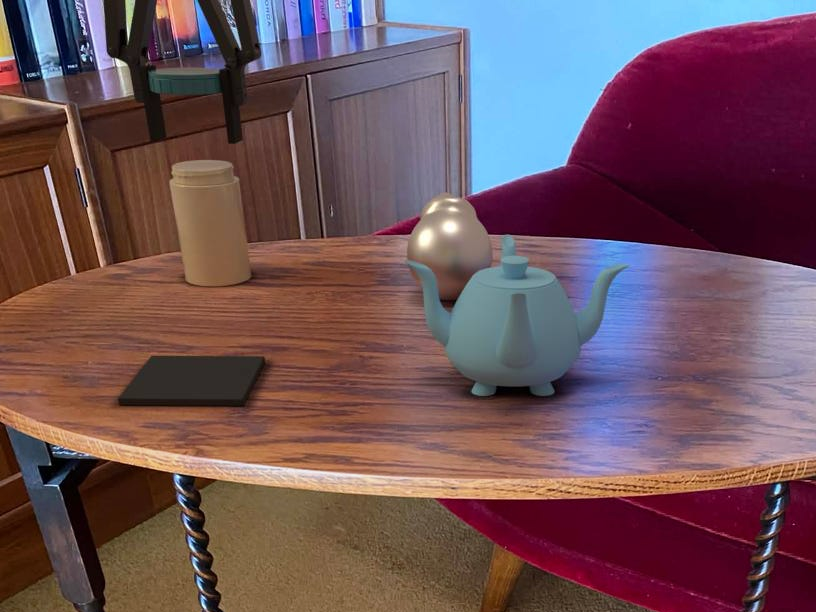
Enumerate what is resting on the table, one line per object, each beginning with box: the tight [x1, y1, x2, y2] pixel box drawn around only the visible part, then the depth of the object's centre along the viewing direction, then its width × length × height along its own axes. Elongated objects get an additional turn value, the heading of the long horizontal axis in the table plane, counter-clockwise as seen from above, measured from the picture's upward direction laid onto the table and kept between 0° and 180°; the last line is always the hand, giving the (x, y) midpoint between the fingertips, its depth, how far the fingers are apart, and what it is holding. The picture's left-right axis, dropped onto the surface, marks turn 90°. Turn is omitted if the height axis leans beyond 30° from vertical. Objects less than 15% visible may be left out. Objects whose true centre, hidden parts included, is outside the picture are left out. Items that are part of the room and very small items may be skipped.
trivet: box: [117, 355, 266, 407], centre depth 81 cm, size 10×10×1 cm
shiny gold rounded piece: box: [406, 192, 494, 301], centre depth 99 cm, size 9×10×10 cm
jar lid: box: [148, 67, 222, 96], centre depth 96 cm, size 8×8×2 cm
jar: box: [168, 159, 252, 287], centre depth 104 cm, size 7×7×11 cm
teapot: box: [404, 234, 630, 397], centre depth 80 cm, size 13×13×10 cm
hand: (197, 140), depth 99 cm, fingers closed on jar lid, 7 cm apart
